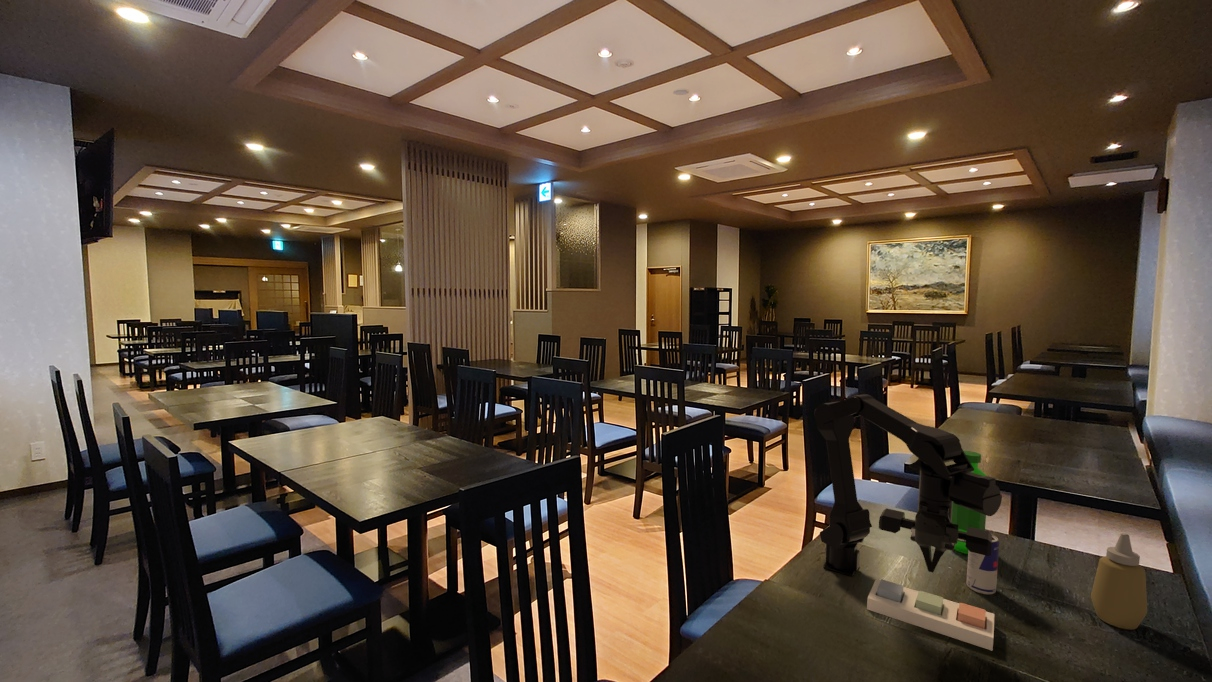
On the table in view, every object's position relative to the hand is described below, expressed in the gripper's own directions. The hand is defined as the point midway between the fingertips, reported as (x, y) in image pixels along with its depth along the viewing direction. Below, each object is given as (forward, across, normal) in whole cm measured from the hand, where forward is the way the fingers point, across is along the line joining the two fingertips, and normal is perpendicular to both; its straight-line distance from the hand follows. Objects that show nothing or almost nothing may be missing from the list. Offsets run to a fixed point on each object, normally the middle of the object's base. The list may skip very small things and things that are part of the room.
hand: (930, 571), depth 105 cm
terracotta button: (+8, +7, 0) cm, 10 cm away
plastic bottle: (+10, +4, +38) cm, 39 cm away
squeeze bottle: (+10, +30, +21) cm, 38 cm away
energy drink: (+10, +8, +19) cm, 23 cm away
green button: (+8, 0, 0) cm, 8 cm away
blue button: (+8, -7, 0) cm, 10 cm away
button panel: (+10, 0, 0) cm, 10 cm away
